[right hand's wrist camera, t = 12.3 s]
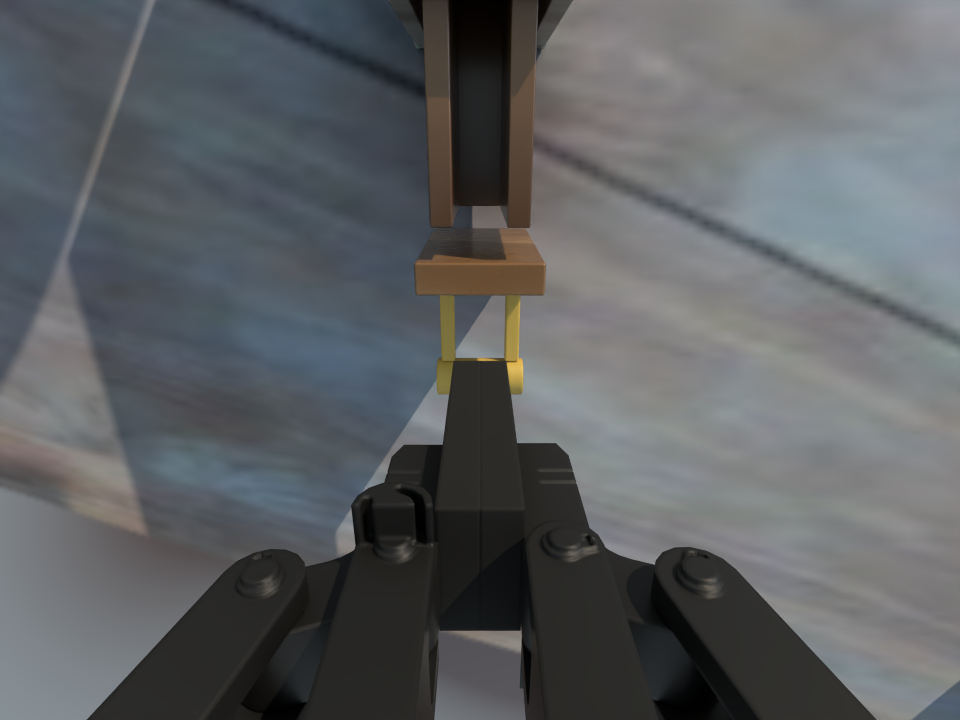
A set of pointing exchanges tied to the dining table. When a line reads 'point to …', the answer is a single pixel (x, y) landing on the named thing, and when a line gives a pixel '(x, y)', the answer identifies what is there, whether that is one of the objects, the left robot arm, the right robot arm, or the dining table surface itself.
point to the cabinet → (549, 15)
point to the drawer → (480, 163)
